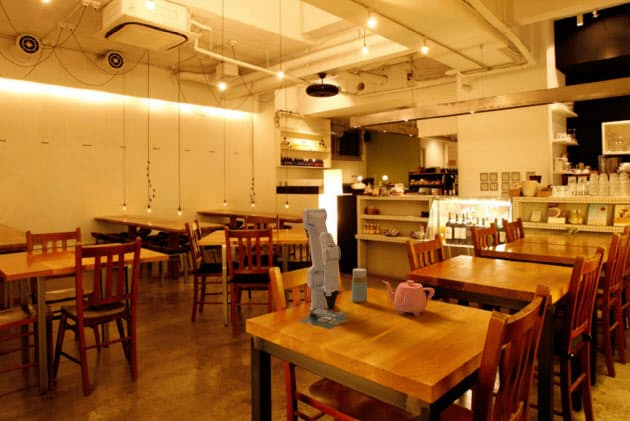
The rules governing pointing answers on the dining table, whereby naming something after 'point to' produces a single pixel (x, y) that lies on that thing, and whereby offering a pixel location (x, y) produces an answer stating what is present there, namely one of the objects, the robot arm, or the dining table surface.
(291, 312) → the dining table surface
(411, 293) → the teapot
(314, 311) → the swing arm
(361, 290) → the bottle
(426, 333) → the dining table surface
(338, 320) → the label
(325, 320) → the label
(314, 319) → the plate
